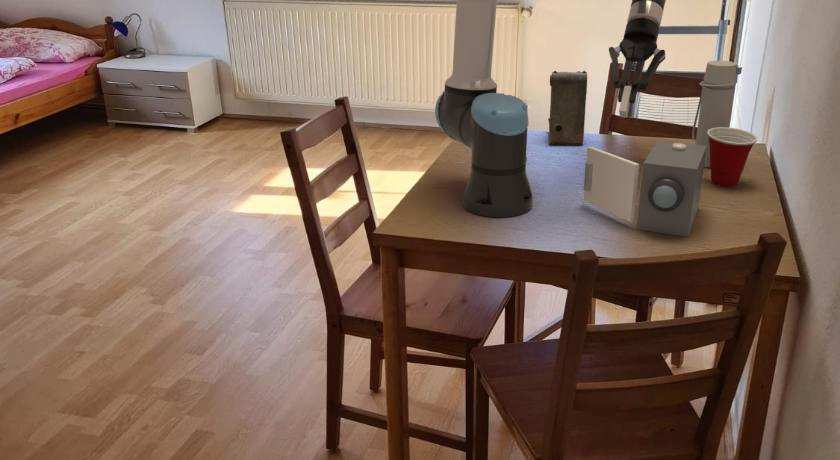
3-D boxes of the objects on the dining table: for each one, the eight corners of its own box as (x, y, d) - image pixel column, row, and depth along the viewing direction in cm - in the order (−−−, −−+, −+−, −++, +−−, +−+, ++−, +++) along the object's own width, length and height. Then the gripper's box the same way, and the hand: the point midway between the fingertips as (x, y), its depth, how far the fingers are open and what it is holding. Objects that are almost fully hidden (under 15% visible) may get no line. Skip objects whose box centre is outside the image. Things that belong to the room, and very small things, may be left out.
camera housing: (686, 241, 151) (695, 169, 145) (632, 233, 155) (639, 162, 149) (698, 208, 166) (707, 142, 161) (648, 202, 170) (656, 137, 165)
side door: (633, 220, 157) (639, 164, 152) (626, 222, 156) (631, 165, 152) (587, 199, 168) (591, 146, 164) (579, 201, 167) (583, 147, 163)
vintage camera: (579, 132, 223) (582, 62, 215) (584, 146, 208) (588, 71, 201) (545, 132, 224) (547, 62, 216) (548, 146, 209) (550, 72, 202)
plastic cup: (730, 194, 174) (738, 143, 169) (690, 181, 182) (697, 132, 177) (760, 185, 179) (768, 134, 175) (720, 172, 188) (727, 124, 183)
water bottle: (730, 165, 193) (745, 63, 183) (710, 171, 189) (724, 68, 179) (699, 155, 200) (712, 57, 190) (679, 161, 196) (691, 61, 186)
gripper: (672, 37, 182) (653, 125, 174) (616, 34, 187) (595, 120, 180) (671, 17, 175) (651, 107, 168) (613, 15, 180) (591, 102, 173)
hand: (622, 114), depth 174 cm, fingers closed
